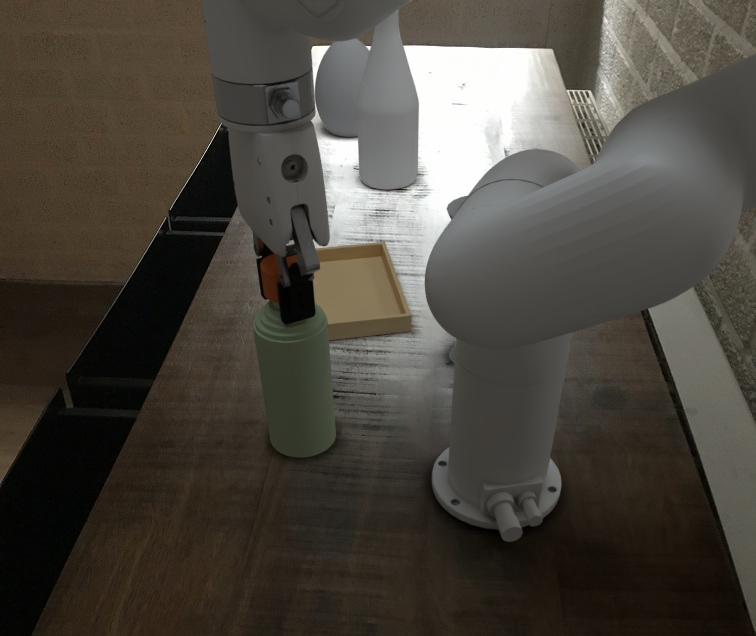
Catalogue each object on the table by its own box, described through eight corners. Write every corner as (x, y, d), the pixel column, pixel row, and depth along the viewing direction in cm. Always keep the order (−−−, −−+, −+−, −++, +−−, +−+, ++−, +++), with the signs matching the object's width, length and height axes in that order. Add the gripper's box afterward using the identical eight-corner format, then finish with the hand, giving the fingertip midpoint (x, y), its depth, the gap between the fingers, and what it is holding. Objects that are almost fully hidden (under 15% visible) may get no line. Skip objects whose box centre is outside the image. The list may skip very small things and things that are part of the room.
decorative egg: (391, 119, 149) (390, 28, 138) (374, 144, 140) (372, 49, 130) (328, 114, 151) (323, 25, 140) (308, 139, 142) (301, 45, 132)
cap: (316, 296, 72) (314, 267, 70) (274, 308, 70) (270, 279, 68) (298, 275, 74) (296, 247, 72) (257, 287, 73) (253, 258, 71)
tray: (411, 331, 98) (411, 315, 96) (296, 343, 97) (294, 327, 95) (385, 256, 112) (384, 241, 110) (284, 266, 110) (282, 251, 108)
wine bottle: (427, 185, 128) (432, -37, 107) (371, 195, 125) (366, -29, 104) (403, 163, 134) (404, -50, 113) (351, 173, 132) (341, -43, 110)
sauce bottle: (340, 453, 82) (327, 283, 69) (272, 461, 82) (246, 291, 68) (331, 411, 87) (318, 245, 73) (268, 419, 87) (242, 252, 73)
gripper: (358, 121, 56) (365, 340, 69) (269, 57, 67) (290, 258, 80) (259, 141, 54) (286, 365, 67) (183, 72, 65) (219, 276, 78)
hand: (287, 305), depth 73 cm, fingers closed on cap, 4 cm apart
